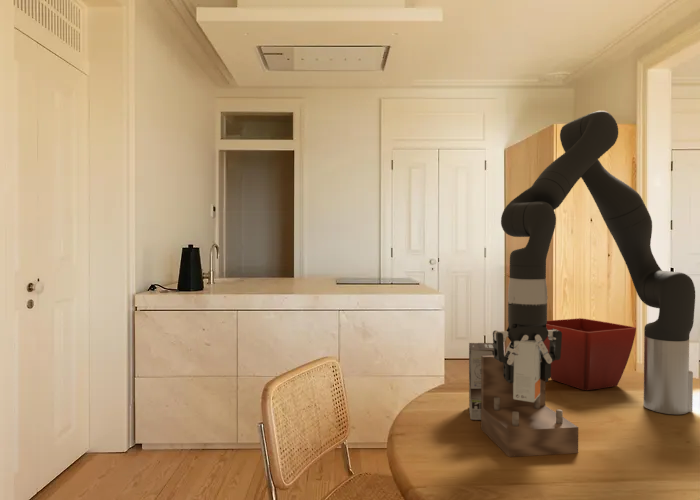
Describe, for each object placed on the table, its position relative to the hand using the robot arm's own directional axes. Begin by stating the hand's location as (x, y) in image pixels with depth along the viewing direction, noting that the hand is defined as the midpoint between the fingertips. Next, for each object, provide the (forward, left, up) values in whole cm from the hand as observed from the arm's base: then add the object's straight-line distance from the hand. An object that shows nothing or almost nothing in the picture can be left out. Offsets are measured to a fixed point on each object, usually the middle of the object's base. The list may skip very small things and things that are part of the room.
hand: (526, 381), depth 104 cm
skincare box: (0, 0, -4) cm, 4 cm away
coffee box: (+3, -16, -12) cm, 20 cm away
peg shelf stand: (0, 0, -12) cm, 12 cm away
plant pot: (-35, -37, -12) cm, 52 cm away
